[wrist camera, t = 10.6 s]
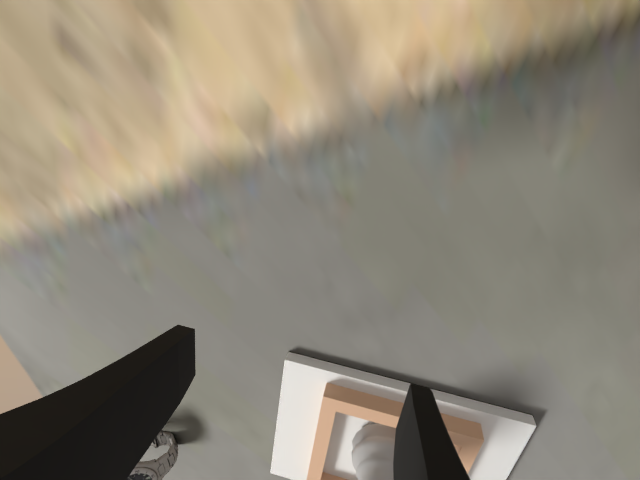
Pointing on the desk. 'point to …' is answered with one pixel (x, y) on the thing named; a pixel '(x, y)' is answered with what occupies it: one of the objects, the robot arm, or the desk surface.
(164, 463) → the wristwatch
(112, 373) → the robot arm
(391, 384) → the socket holder
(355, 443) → the rook chess piece
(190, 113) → the desk surface
